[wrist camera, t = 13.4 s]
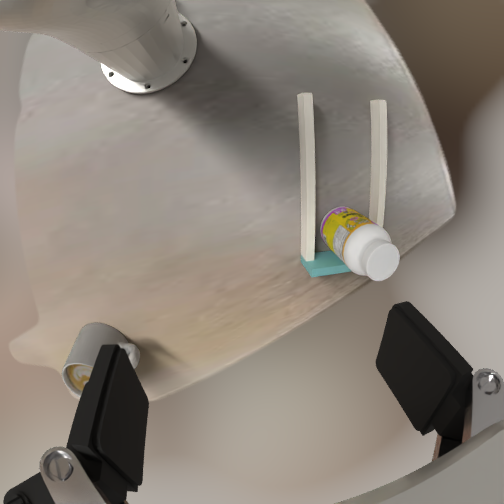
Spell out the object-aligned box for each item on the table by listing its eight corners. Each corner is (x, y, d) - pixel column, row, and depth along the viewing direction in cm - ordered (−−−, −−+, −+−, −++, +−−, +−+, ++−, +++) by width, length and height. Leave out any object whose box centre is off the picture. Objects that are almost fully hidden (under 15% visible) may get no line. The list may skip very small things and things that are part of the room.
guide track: (297, 94, 33) (310, 90, 28) (376, 101, 34) (396, 99, 30) (300, 261, 43) (311, 277, 38) (371, 252, 44) (387, 265, 40)
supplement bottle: (363, 211, 41) (414, 242, 29) (349, 250, 43) (392, 292, 32) (326, 199, 39) (373, 229, 28) (312, 242, 42) (350, 285, 30)
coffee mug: (92, 365, 45) (79, 404, 36) (70, 324, 41) (51, 363, 32) (155, 361, 47) (149, 404, 38) (137, 318, 43) (125, 361, 33)
